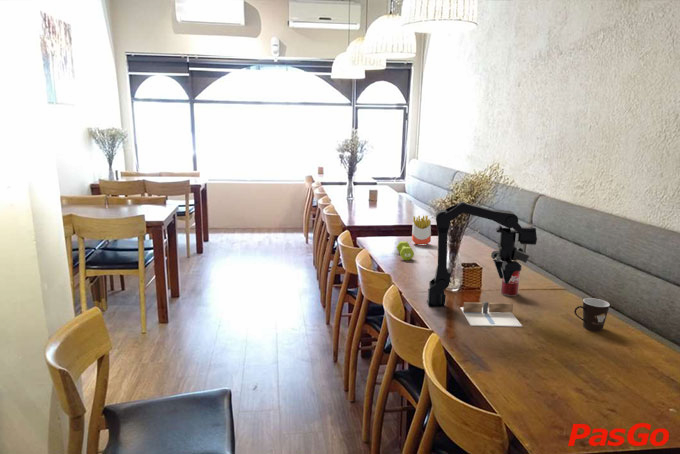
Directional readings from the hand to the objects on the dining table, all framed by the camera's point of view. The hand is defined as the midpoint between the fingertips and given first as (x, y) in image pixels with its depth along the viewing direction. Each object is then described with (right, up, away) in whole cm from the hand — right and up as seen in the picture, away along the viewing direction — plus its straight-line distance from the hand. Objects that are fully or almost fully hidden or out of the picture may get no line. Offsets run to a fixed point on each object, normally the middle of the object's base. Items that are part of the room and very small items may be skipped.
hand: (503, 281), depth 186 cm
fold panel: (-2, -12, -2) cm, 12 cm away
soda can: (+9, -8, +20) cm, 23 cm away
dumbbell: (-29, +5, +77) cm, 82 cm away
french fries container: (-15, +11, +103) cm, 104 cm away
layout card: (-7, -13, -5) cm, 16 cm away
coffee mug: (+27, -16, -14) cm, 34 cm away
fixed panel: (-12, -13, -2) cm, 18 cm away
